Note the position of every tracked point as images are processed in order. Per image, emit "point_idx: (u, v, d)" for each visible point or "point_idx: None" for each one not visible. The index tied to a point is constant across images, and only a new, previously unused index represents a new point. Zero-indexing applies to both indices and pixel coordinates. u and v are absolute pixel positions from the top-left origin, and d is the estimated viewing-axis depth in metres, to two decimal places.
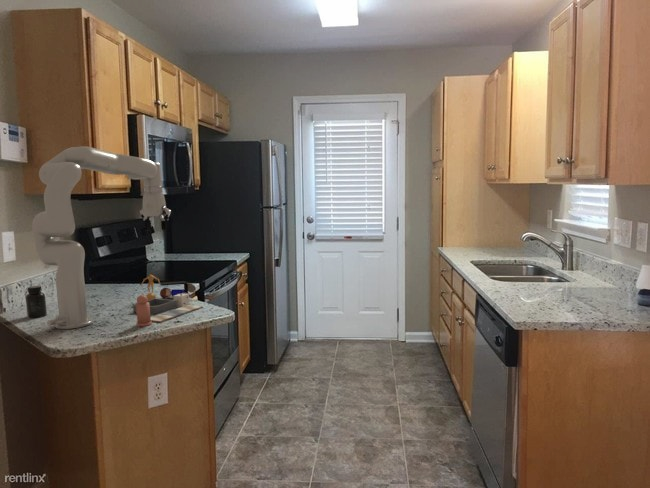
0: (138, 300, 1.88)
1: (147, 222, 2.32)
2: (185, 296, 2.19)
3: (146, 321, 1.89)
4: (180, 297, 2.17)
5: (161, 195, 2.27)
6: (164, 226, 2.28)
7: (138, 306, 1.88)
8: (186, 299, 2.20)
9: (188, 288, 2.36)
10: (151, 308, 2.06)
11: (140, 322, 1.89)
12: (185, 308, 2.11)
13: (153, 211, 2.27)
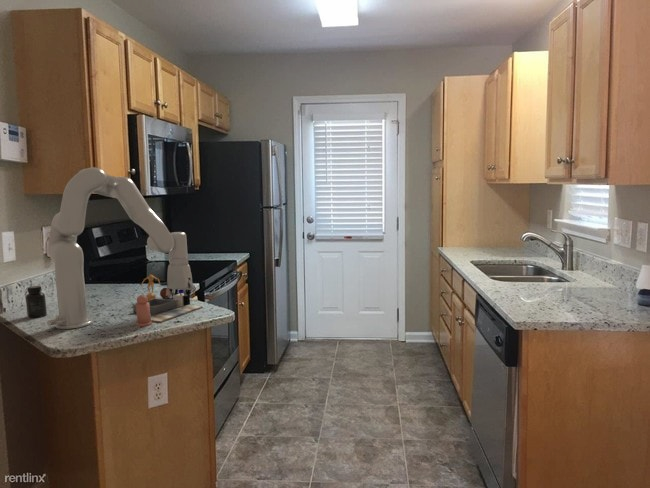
0: (138, 300, 1.88)
1: None
2: None
3: (146, 321, 1.89)
4: (180, 297, 2.17)
5: (187, 267, 2.16)
6: (186, 301, 2.18)
7: (138, 306, 1.88)
8: None
9: None
10: (151, 308, 2.06)
11: (140, 322, 1.89)
12: (185, 308, 2.11)
13: (179, 284, 2.16)
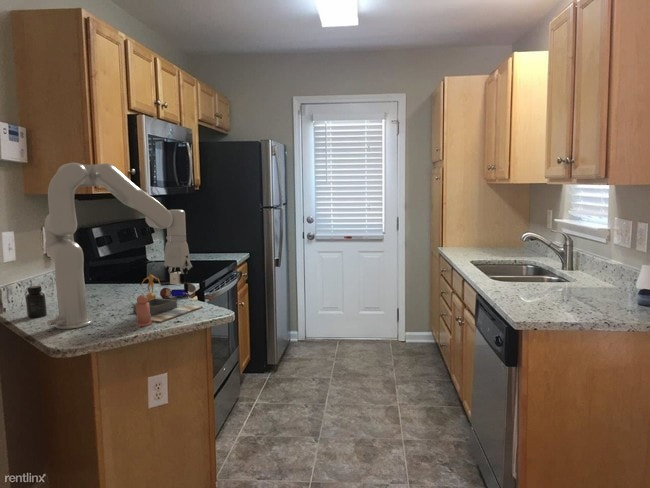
0: (138, 300, 1.88)
1: None
2: None
3: (146, 321, 1.89)
4: (177, 275, 2.16)
5: (185, 245, 2.15)
6: (183, 280, 2.16)
7: (138, 306, 1.88)
8: None
9: (188, 288, 2.36)
10: (151, 308, 2.06)
11: (140, 322, 1.89)
12: (185, 308, 2.11)
13: (176, 261, 2.15)
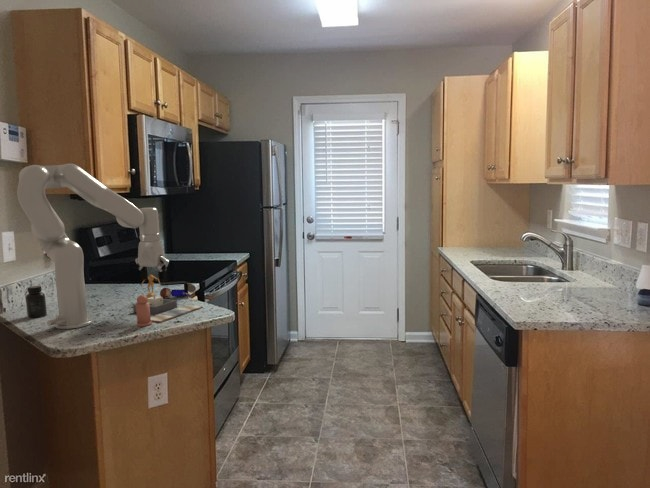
0: (138, 300, 1.88)
1: (143, 272, 2.13)
2: (158, 299, 2.12)
3: (146, 321, 1.89)
4: (153, 300, 2.11)
5: (158, 244, 2.08)
6: (161, 277, 2.09)
7: (138, 306, 1.88)
8: (160, 302, 2.13)
9: (188, 288, 2.36)
10: (151, 308, 2.06)
11: (140, 322, 1.89)
12: (185, 308, 2.11)
13: (149, 261, 2.08)
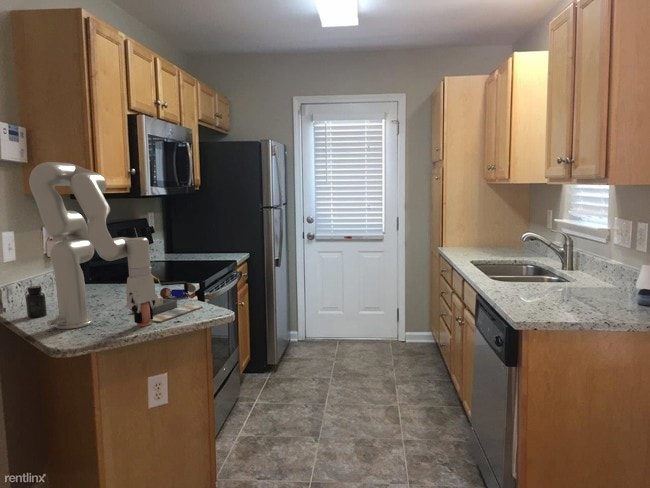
0: None
1: None
2: (158, 299, 2.12)
3: (146, 321, 1.89)
4: None
5: (130, 280, 1.85)
6: None
7: None
8: (160, 302, 2.13)
9: (188, 288, 2.36)
10: None
11: None
12: (185, 308, 2.11)
13: None
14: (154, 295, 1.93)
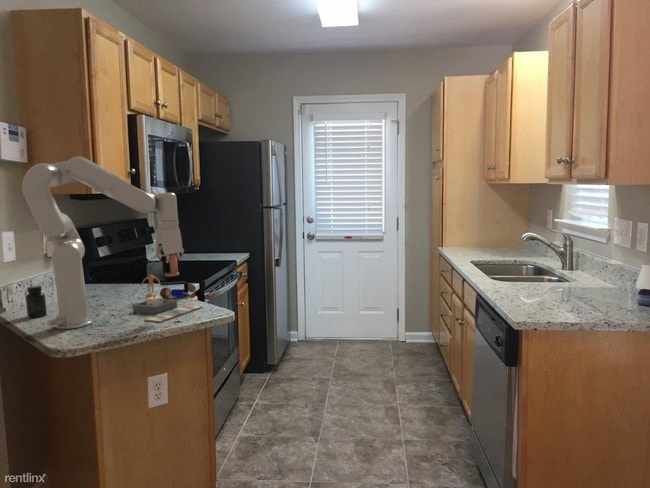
0: None
1: None
2: (158, 299, 2.12)
3: (174, 271, 2.01)
4: (153, 300, 2.11)
5: (159, 231, 1.97)
6: None
7: None
8: (160, 302, 2.13)
9: (188, 288, 2.36)
10: (151, 308, 2.06)
11: None
12: (185, 308, 2.11)
13: None
14: (181, 248, 2.05)
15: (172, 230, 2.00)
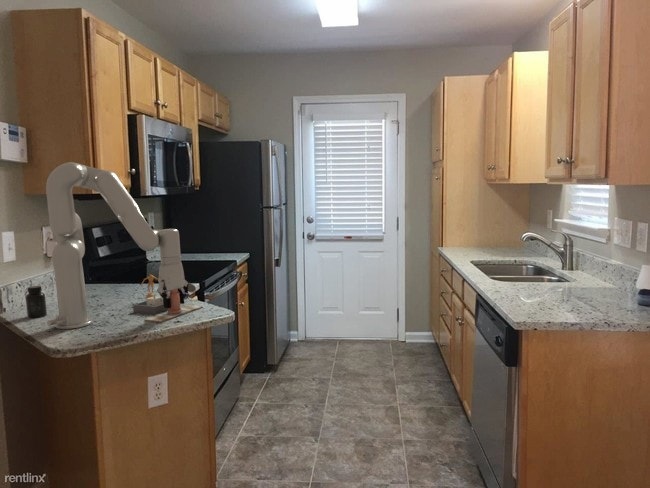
0: None
1: None
2: (158, 299, 2.12)
3: (177, 309, 2.03)
4: (153, 300, 2.11)
5: (162, 268, 1.99)
6: None
7: None
8: (160, 302, 2.13)
9: (188, 288, 2.36)
10: (151, 308, 2.06)
11: (171, 310, 2.03)
12: (185, 308, 2.11)
13: None
14: (183, 282, 2.07)
15: (175, 266, 2.01)
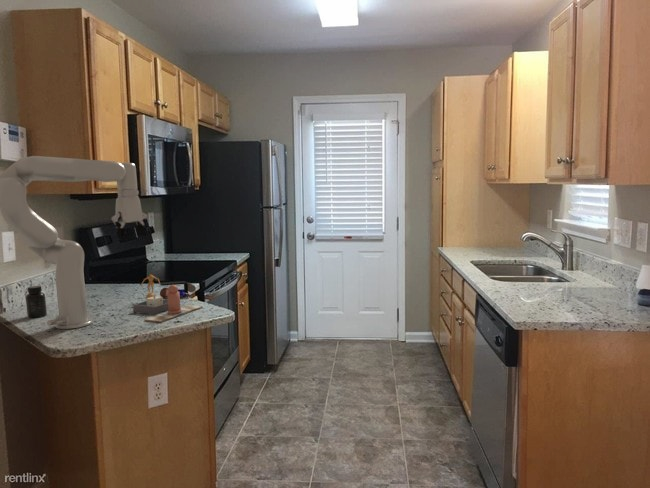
0: (169, 289, 2.02)
1: (138, 227, 2.14)
2: (158, 299, 2.12)
3: (177, 309, 2.03)
4: (153, 300, 2.11)
5: (119, 200, 2.05)
6: None
7: (169, 295, 2.02)
8: (160, 302, 2.13)
9: (188, 288, 2.36)
10: (151, 308, 2.06)
11: (171, 310, 2.03)
12: (185, 308, 2.11)
13: None
14: (141, 216, 2.12)
15: (131, 199, 2.07)
